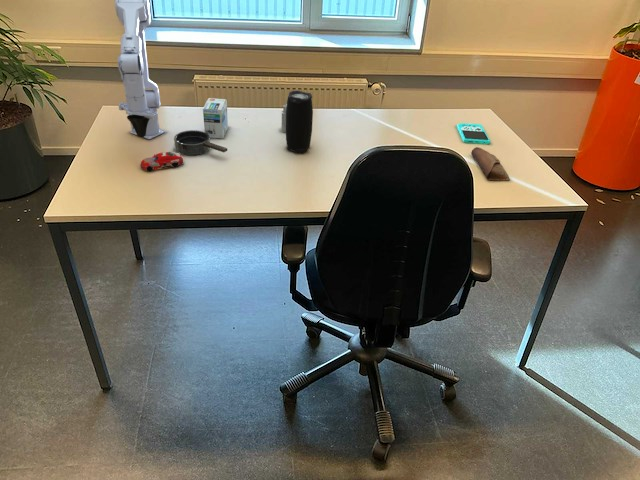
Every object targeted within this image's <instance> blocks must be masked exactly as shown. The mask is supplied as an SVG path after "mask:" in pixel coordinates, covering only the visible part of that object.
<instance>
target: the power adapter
mask: <svg viewBox="0 0 640 480" xmlns="http://www.w3.org/2000/svg"><path fill="white" fill-rule="evenodd" d="M285 102H286V104H284V105H283V107H282V110H281V126H280V127H281V131H280V132H281V133H286V132H285V131H286V107H287V101H285Z"/></svg>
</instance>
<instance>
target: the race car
mask: <svg viewBox="0 0 640 480" xmlns="http://www.w3.org/2000/svg"><path fill="white" fill-rule="evenodd" d="M184 162H185V161H184V157H183V156H182V154H181V153H179V152H174V151H162V152H158V153H156V154H153V155H152V156H149V157H146V158H144V159H142V160H141V161H140V164H139V167H140V168H141V169H142V170H143V171H147V172H153V171H155V170H163V169H168V168H169V169H170V168H174V169H175V168H178V166H181V165H184Z"/></svg>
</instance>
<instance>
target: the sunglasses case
mask: <svg viewBox="0 0 640 480" xmlns="http://www.w3.org/2000/svg"><path fill="white" fill-rule="evenodd" d="M470 154H471V156H472V157H473V158H474V160H475V161H476V163H477V164H478V166H479V167H480V168H481V171H482V172H483V174H484V175H485V177H486V178H487V180H489V181H494V182H504V181H510V176H509V174H508V173H507V171H506V169H505V168H504V166H503V165H502V164H501V161H500V160H499V158H497V157H496V156H495V155H494V154H493V153H490V152H489V151H487V150H485V149H483V148H481V147H478V146H477V147H476V146H475V147H474V148H473V149H472V150H471V152H470Z"/></svg>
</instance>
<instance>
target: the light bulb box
mask: <svg viewBox="0 0 640 480" xmlns="http://www.w3.org/2000/svg"><path fill="white" fill-rule="evenodd" d="M227 101H228V100H227V99H225V98H214V97H208V99H206V102H205V104H204V106H203V107H202V114H203V116H202V117H203V125H204V126H203V127H204V132H205V133H207V134H208V135H209V136H210V139H224V137H225V136H226V133H227V131H228V128H229V120H228V119H229V118H228V102H227Z"/></svg>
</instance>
